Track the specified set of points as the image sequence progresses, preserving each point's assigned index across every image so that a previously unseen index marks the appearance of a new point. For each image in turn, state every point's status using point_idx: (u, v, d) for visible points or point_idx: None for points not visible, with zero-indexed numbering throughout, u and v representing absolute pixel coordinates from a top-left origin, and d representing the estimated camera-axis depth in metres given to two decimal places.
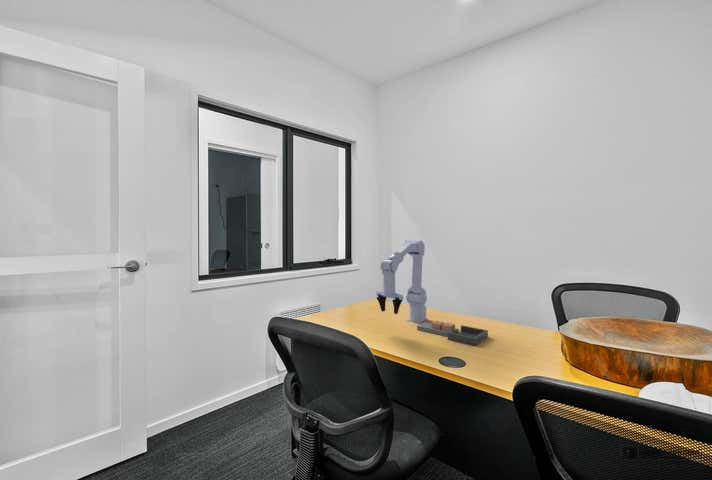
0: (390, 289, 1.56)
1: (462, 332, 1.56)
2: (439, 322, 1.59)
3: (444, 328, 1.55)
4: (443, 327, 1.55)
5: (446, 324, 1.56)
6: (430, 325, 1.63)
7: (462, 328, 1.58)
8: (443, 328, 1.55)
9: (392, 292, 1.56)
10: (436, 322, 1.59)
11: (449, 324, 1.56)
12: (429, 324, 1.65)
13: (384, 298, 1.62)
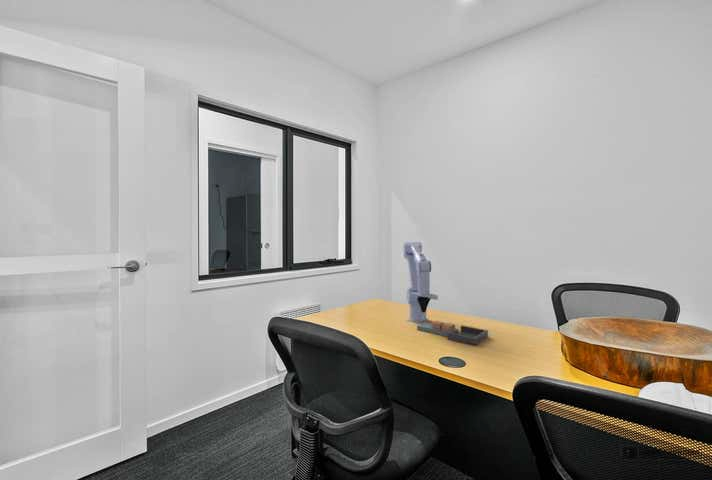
0: (425, 290, 1.61)
1: (462, 332, 1.56)
2: (439, 322, 1.59)
3: (444, 328, 1.55)
4: (443, 327, 1.55)
5: (446, 324, 1.56)
6: (430, 325, 1.63)
7: (462, 328, 1.58)
8: (443, 328, 1.55)
9: (427, 292, 1.61)
10: (436, 322, 1.59)
11: (449, 324, 1.56)
12: (429, 324, 1.65)
13: None
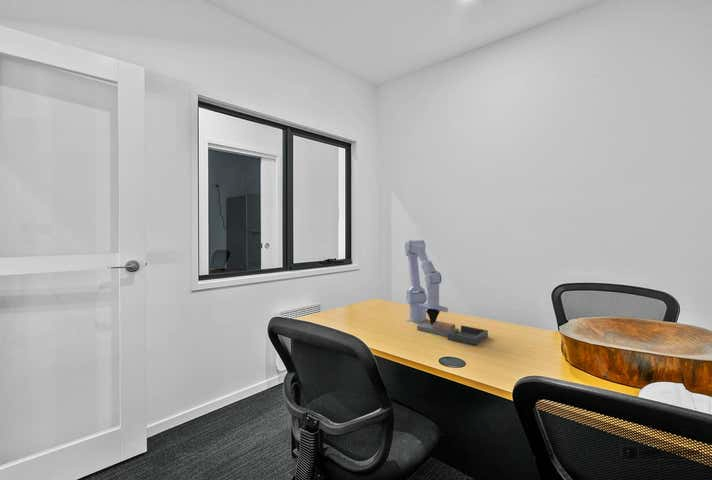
0: (435, 302, 1.58)
1: (462, 332, 1.56)
2: (440, 322, 1.59)
3: (444, 328, 1.55)
4: (443, 327, 1.55)
5: (446, 324, 1.56)
6: (430, 325, 1.63)
7: (462, 328, 1.58)
8: (443, 328, 1.55)
9: (436, 305, 1.58)
10: (437, 322, 1.59)
11: (449, 324, 1.56)
12: (429, 324, 1.65)
13: None
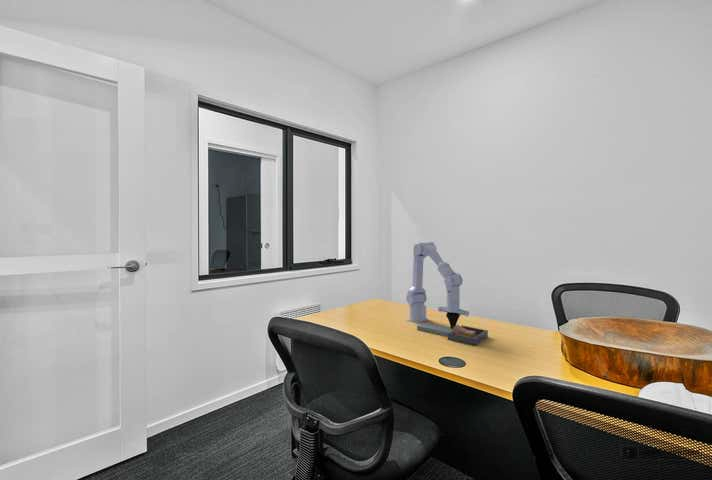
0: (455, 305, 1.51)
1: None
2: (461, 328, 1.52)
3: None
4: (463, 335, 1.49)
5: (466, 331, 1.49)
6: (430, 325, 1.63)
7: None
8: None
9: (457, 308, 1.51)
10: (458, 327, 1.52)
11: (470, 331, 1.49)
12: (429, 324, 1.65)
13: None
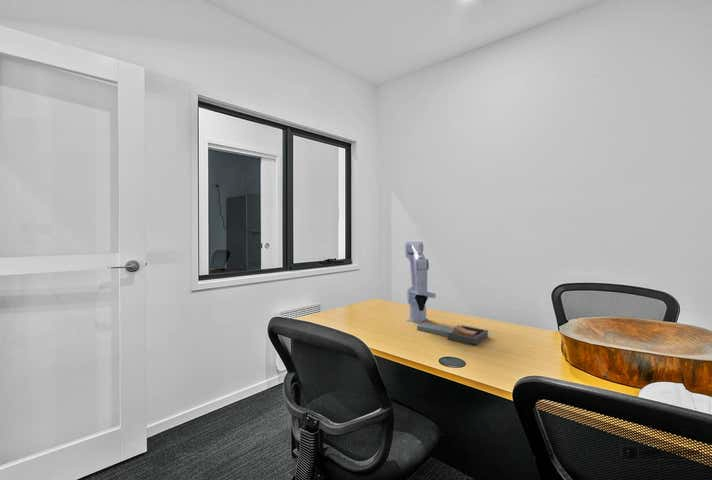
0: (423, 288, 1.60)
1: None
2: (461, 328, 1.52)
3: None
4: (464, 335, 1.48)
5: (467, 331, 1.49)
6: (430, 325, 1.63)
7: None
8: None
9: (425, 291, 1.61)
10: (459, 328, 1.52)
11: (470, 331, 1.49)
12: (429, 324, 1.65)
13: None
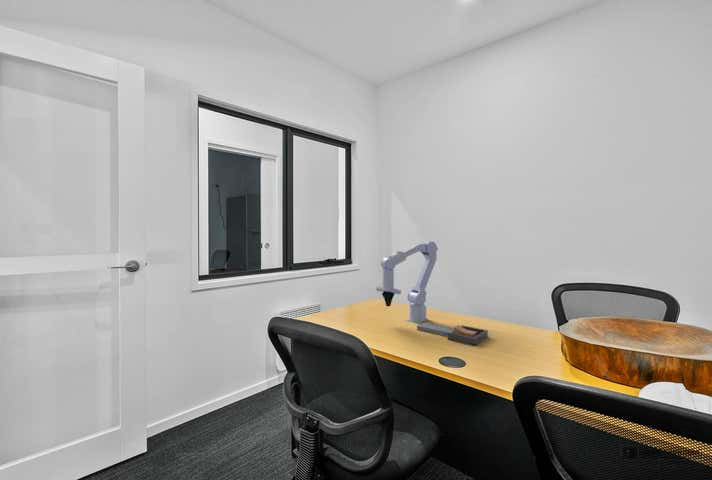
0: (389, 285, 1.70)
1: None
2: (461, 328, 1.52)
3: None
4: (464, 335, 1.48)
5: (467, 331, 1.49)
6: (430, 325, 1.63)
7: None
8: None
9: (391, 287, 1.70)
10: (459, 328, 1.52)
11: (470, 331, 1.49)
12: (429, 324, 1.65)
13: None
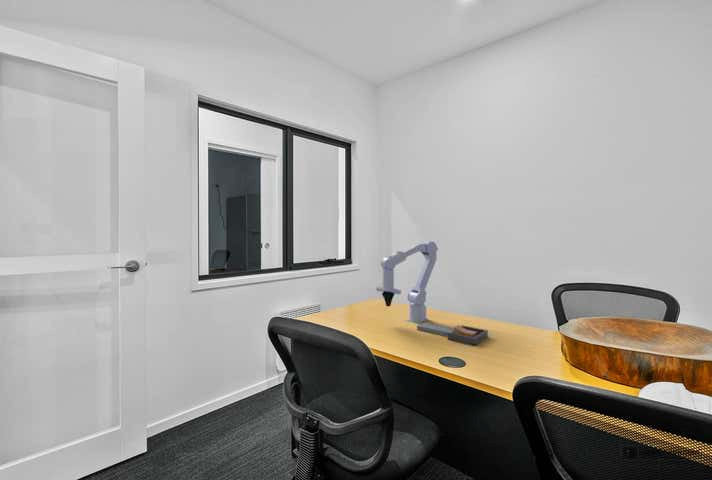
0: (389, 285, 1.70)
1: None
2: (461, 328, 1.52)
3: None
4: (464, 335, 1.48)
5: (467, 331, 1.49)
6: (430, 325, 1.63)
7: None
8: None
9: (391, 287, 1.70)
10: (459, 328, 1.52)
11: (470, 331, 1.49)
12: (429, 324, 1.65)
13: None
